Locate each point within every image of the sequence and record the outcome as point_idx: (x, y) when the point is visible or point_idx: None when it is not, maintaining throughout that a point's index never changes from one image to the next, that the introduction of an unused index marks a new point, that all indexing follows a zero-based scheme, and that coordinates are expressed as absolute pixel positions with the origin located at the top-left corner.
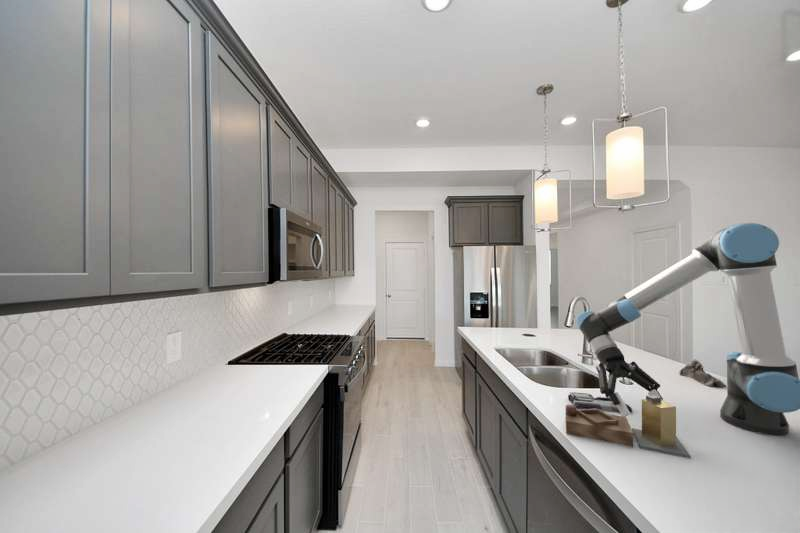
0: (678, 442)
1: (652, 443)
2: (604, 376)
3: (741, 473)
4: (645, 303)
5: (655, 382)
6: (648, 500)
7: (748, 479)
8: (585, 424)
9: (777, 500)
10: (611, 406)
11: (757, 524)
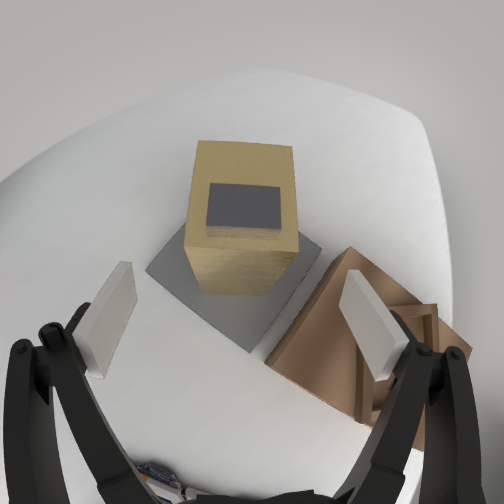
0: (180, 238)
1: None
2: (469, 429)
3: (175, 131)
4: None
5: (18, 364)
6: (410, 138)
7: (187, 119)
8: (445, 323)
9: (213, 86)
10: (183, 498)
11: (303, 77)
